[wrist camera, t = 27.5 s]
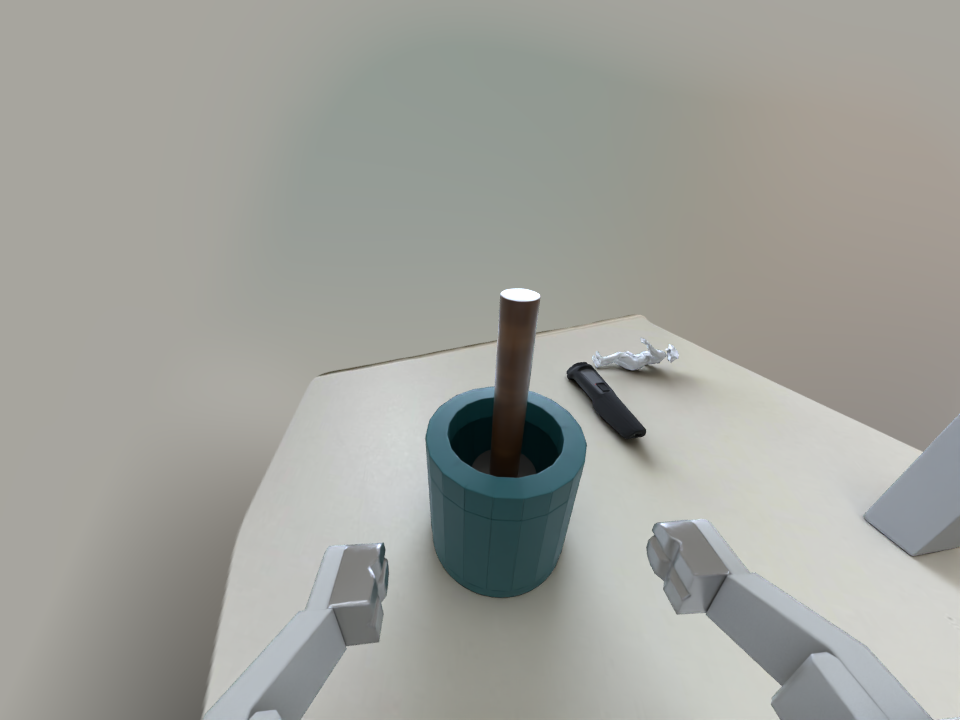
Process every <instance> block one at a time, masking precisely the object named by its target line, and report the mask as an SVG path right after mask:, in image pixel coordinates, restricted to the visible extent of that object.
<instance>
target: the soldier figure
mask: <svg viewBox="0 0 960 720" xmlns="http://www.w3.org/2000/svg"><path fill="white" fill-rule="evenodd" d="M640 339H641V341H644V342H642V343H644V344H646V345H647V348H648V350H649V351H648V352H646V351H644V352H641V354H637V355H634V354H632V353H631V352H624V353H623V352H617V353H615V354H613V355H610V356H606V357H602V356H600V354H599V352H597V351H596V358H597V359H598V360H597V359H596V358H595V356H593V357H592V359H593V362H594V363H595V366H596V368H597V367H600V366H602V365H608V364H610V363H613V362H614V363H616V364H618V365H619V366H622V367H624V368H625V369H629V370H637V369H640V368H642V367H643V366H644V365H648V364H655V363H660V361H662V360H663V359H664V358H665V357H666V356H667V359H668V361H670V362H673V361H674V360H675V359H678V356H679V354H678V351H677V350H676V349H675V347H674V346H672V345H670V344H669V348H668V349H665V350H667V355H666V353H665V352H663V351H661V350H656V349H654V348H653V347H652V345H651V344H650V343H649V342H648V341H647V340H645V339H644V338H640ZM625 353H626V354H628V355H626V354H625Z"/></svg>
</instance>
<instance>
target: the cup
mask: <svg viewBox="0 0 960 720" xmlns="http://www.w3.org/2000/svg"><path fill="white" fill-rule="evenodd" d="M494 389H495V387H486V388H479V389H473V390H470V391H467V392H465V393H462V394H459V395H456V396H455V397H453V398H452V399H450V400H449V401H447V402H446V403H444V404H443V405H441V406H440V407H439V408H438V409H437V411H436V412H435V413H434V415H433V416H432V417H431V419H430V421H429V424H428V428H427V433H426V438H425V439H426V453H427V468H428V483H429V497H430V511H431V526H432V532H433V542H434V546H435V550H436V553H437V556H438V558H439V560H440V562H441V564H442V565H443V567H444V568H445V570H446V571H447V572H448V573H449V575H450V576H451V577H452V578H453V579H455V580H456V581H457V582H458V583H459V584H461V585H462V586H464V587H465V588H467V589H469V590H471V591H473V592H476V593H478V594H481V595H485V596H490V597H501V598H503V597H513V596H517V595H521V594H524V593H526V592H529V591H531V590H532V589H534V588H536V587H537V586H539V585H540V584H541V583H542V582H544V581H545V580H546V579H547V577H548V576H549V575H550V574H551V572H552V571H553V569H554V568H555V566H556V564H557V561H558V559H559V555H560V554H561V551H562V547H563V543H564V540H565V536H566V532H567V528H568V524H569V520H570V517H571V513H572V509H573V505H574V501H575V497H576V494H577V490H578V486H579V482H580V478H581V474H582V471H583V467H584V463H585V456H586V447H587V443H586V440H585V438H584V435H583V432H582V429H581V427H580V425H579V424H578V423H577V421H576V420H575V419H574V418H573V417H572V415H571V414H570V413H569V412H568V411H567V410H565V409H564V408H563V407H561V406H560V405H559V404H557V403H556V402H554V401H552V400H551V399H549V398H547V397H544V396H542V395H540V394H537V393H535V392H532V391H529V392H528V400H527V408H526V416H525V424H524V432H523V440H522V448H521V453H522V454H523V455H525V456H526V457H527V458H528V459H529V460H530V461H531V462H532V464H533V465H534V467H535V469H536V474H534V475H529V476H525V477H520V478H508V477H495V476H492V475H489V474H485V473H482V472H479V471H477V470H475V469H473V468H472V465H473V462H474V461H475V459H476V458H477V457H478V456H479V455H480V454H482V453H483V452H485V451H488V450H491V437H492V421H493V405H494Z"/></svg>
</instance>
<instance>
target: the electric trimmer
mask: <svg viewBox="0 0 960 720" xmlns="http://www.w3.org/2000/svg"><path fill="white" fill-rule="evenodd" d="M567 374H568V375H567V377H568V378H569V379H575V381H576V382H577V383H578V384H579V385H580V386H581V388H582V389H583V390H584V391H585V392H586V393H587V395H588V396H589V397H590V398H591V399H592V401H593V408H594V410H595V411H596V412H597V413H598V414H599V415H600V416H601V417H602V418H603V419H604V420H605V421H607V422H608V423H609V424H610V425H611V426H612V427H613V428H614V429H615V430H616V431H617V432H618V433H619V434H620V435H621V436H622V437H624V438H625V439H630V438H637V437H643V436H644V435H645V434H646V429H645V428H644V427H643V426H642V424H641V423H640V422H639V421H638V420H637V419H636V418H635V416H634V415H633V414H632V413H631V412H630V411H629V410H628V408H627V407H626V406H625V405H624V404H623V403H622V402H621V400H620V399H619V398H618V397H617V396H616V394H615V393H614V391H613V390H612V389H611V388H610V387H609V385H608V384H607V383H606V382H605V381H604V380H603V378H602V377H601V376H600V375H599V374H598V373H597V371H596V370H595V369H594V368H593V367H592V366H591V365H590V364H587V362H580V363H576V364H574V365H573V366H572V367H570V368H569V369H568V370H567Z"/></svg>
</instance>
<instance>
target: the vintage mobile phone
mask: <svg viewBox="0 0 960 720" xmlns="http://www.w3.org/2000/svg"><path fill="white" fill-rule="evenodd" d="M863 517H864V518H865V520H866V521H868V522H869V523H870V524H872V525H873V526H874V527H875V528H877V529H878V530H879V531H880V532H882V533H883V534H884V535H885V536H887V537H888V538H889V539H890V540H892V541H893V542H894V543H896V544H897V545H898V546H899V547H901V548H902V549H903V550H904V551H906V552H907V553H908V554H909V555H912V556H916V555H921V554H926V553H931V552H937V551H942V550H947V549H952V548H957V547H960V414H959V415H958V416H957V417H956V418H955V419H954V420H953V421H952V422H951V423H950V424H949V425H948V426H947V427H946V429H945V430H944V431H943V432H942V433H941V434H940V435H939V436H938V437H937V438H936V439H935V440H934V441H933V442H932V443H931V444H930V445H929V446H928V448H927V449H926V450H925V451H924V452H923V453H922V454H921V455H920V456H919V457H918V458H917V459H916V460H915V461H914V462H913V463H912V464H911V465H910V466H909V468H908V469H907V470H906V471H905V472H904V473H903V474H902V475H901V476H900V477H899V478H898V479H897V480H896V481H895V482H894V483H893V484H892V485H891V487H890V488H889V489H888V490H887V491H886V492H885V493H884V494H883V495H882V496H881V497H880V498H879V499H878V500H877V501H876V502H875V503H874V504H873V506H872V507H871V508H870V509H869V510H868V511H867V512H866V513H865V514H864V515H863Z"/></svg>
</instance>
